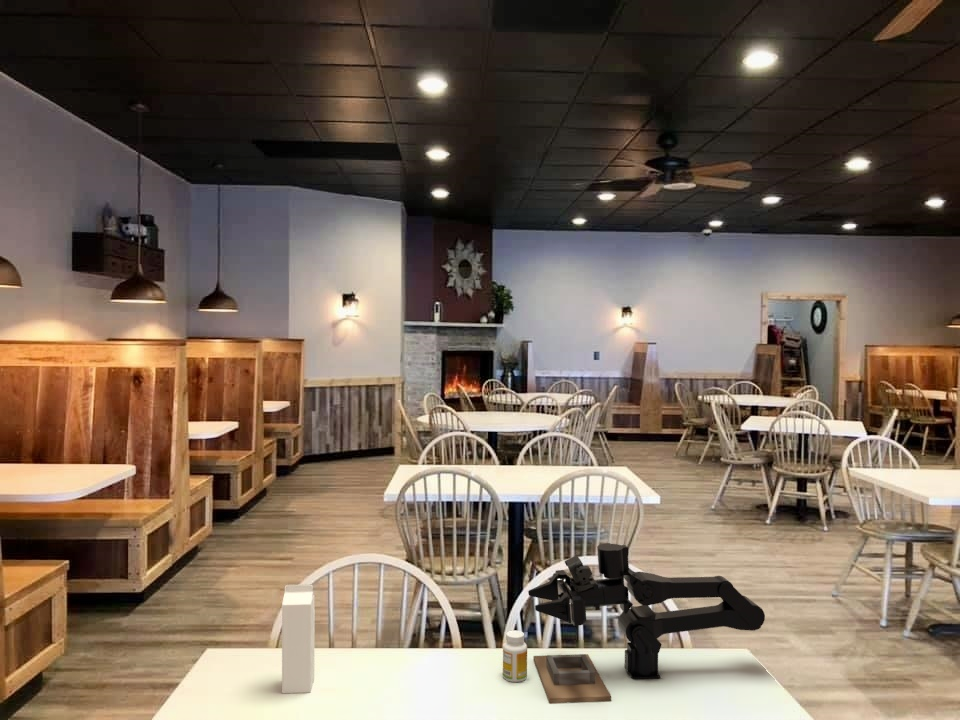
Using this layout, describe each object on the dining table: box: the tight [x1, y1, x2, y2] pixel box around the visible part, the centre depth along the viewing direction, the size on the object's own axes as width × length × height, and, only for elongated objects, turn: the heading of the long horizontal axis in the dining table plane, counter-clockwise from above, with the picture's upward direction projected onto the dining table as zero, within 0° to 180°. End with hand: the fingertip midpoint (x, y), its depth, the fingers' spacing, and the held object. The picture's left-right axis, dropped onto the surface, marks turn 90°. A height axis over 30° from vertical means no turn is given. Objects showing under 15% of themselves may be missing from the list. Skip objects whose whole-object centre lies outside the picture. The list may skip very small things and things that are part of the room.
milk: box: [281, 584, 316, 694], centre depth 152 cm, size 6×6×22 cm
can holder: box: [532, 653, 612, 704], centre depth 157 cm, size 13×20×4 cm, turn 5°
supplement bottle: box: [502, 629, 528, 683], centre depth 157 cm, size 5×5×10 cm
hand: (531, 600), depth 158 cm, fingers open, 9 cm apart
